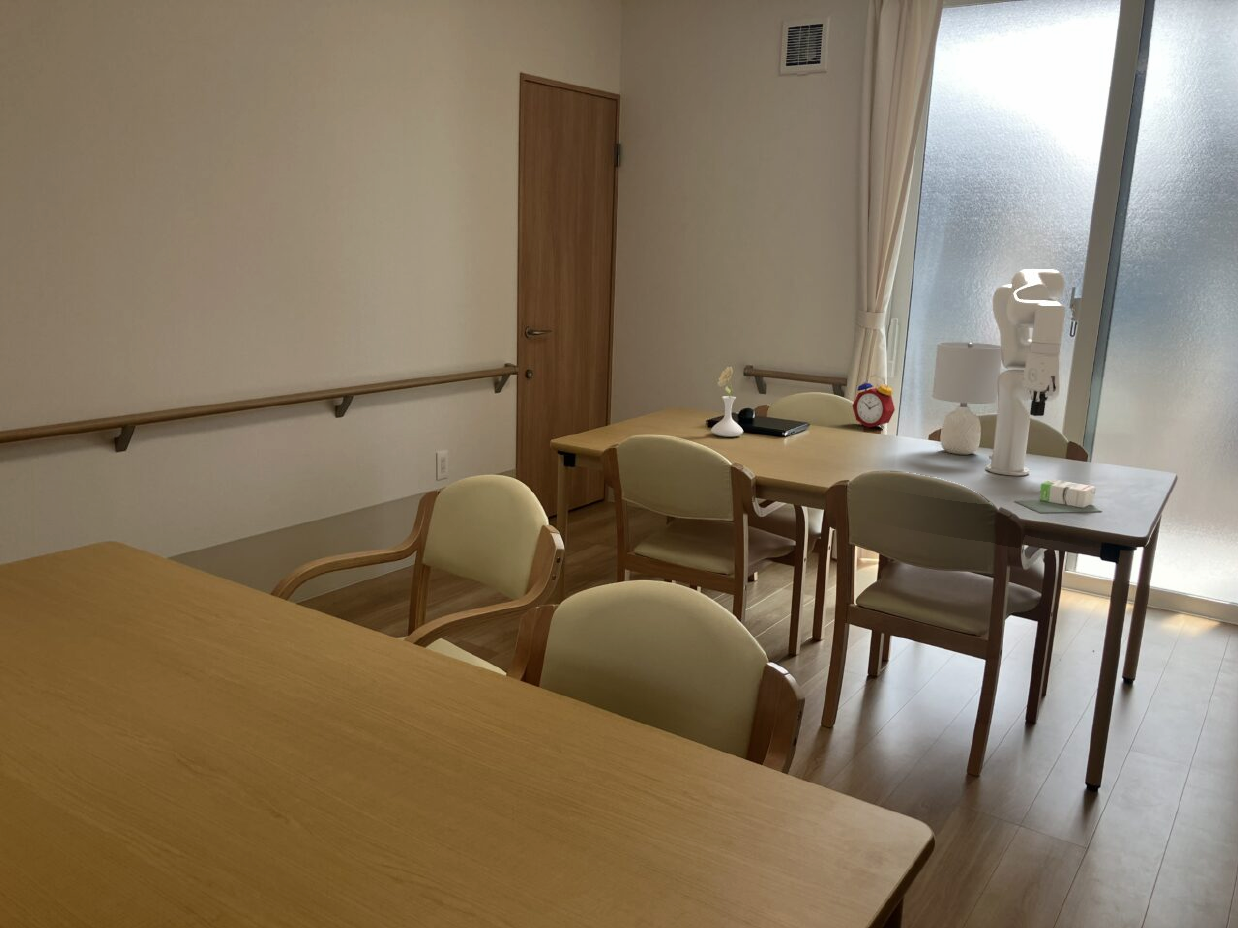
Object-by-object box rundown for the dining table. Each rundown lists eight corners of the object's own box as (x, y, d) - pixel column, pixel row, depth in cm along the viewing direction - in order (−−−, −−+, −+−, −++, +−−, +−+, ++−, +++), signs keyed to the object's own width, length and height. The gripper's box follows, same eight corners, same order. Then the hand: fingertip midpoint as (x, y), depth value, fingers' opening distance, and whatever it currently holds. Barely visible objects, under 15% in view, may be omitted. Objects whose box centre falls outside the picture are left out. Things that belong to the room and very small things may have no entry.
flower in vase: (711, 431, 359) (715, 362, 353) (743, 433, 357) (747, 364, 352) (709, 438, 346) (713, 367, 340) (742, 440, 344) (746, 368, 339)
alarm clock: (850, 424, 381) (854, 373, 377) (863, 422, 387) (867, 371, 383) (884, 430, 371) (888, 377, 366) (896, 428, 377) (901, 376, 372)
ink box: (1038, 500, 272) (1083, 509, 264) (1040, 483, 270) (1085, 491, 263) (1050, 495, 278) (1094, 503, 270) (1052, 478, 277) (1096, 486, 269)
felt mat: (1014, 501, 271) (1014, 500, 271) (1073, 500, 274) (1073, 499, 274) (1039, 513, 259) (1039, 512, 259) (1101, 512, 263) (1101, 510, 263)
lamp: (1003, 457, 329) (1016, 346, 321) (953, 460, 322) (965, 346, 314) (963, 445, 347) (974, 340, 339) (914, 447, 340) (925, 340, 332)
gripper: (1017, 346, 278) (1009, 410, 282) (1048, 352, 263) (1040, 420, 268) (1041, 346, 279) (1033, 410, 283) (1074, 352, 265) (1065, 420, 269)
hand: (1036, 415), depth 276 cm, fingers closed
